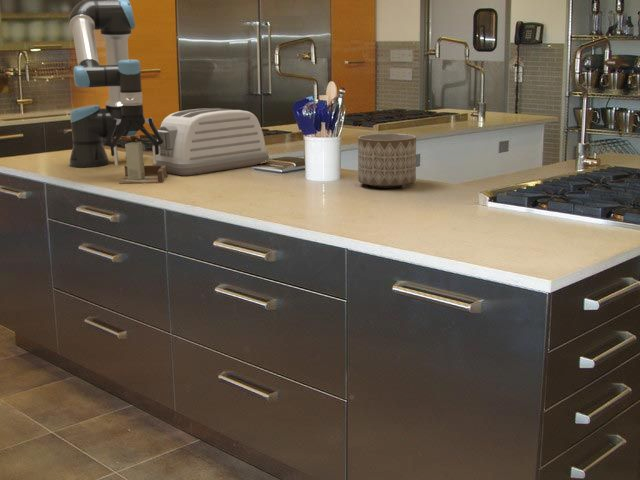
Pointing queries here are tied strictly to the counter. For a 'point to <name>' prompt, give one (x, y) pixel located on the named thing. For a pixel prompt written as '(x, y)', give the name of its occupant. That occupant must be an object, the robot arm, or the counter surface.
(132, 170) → the box
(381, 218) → the counter surface
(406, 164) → the planter
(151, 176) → the arena
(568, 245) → the counter surface
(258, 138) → the toaster
